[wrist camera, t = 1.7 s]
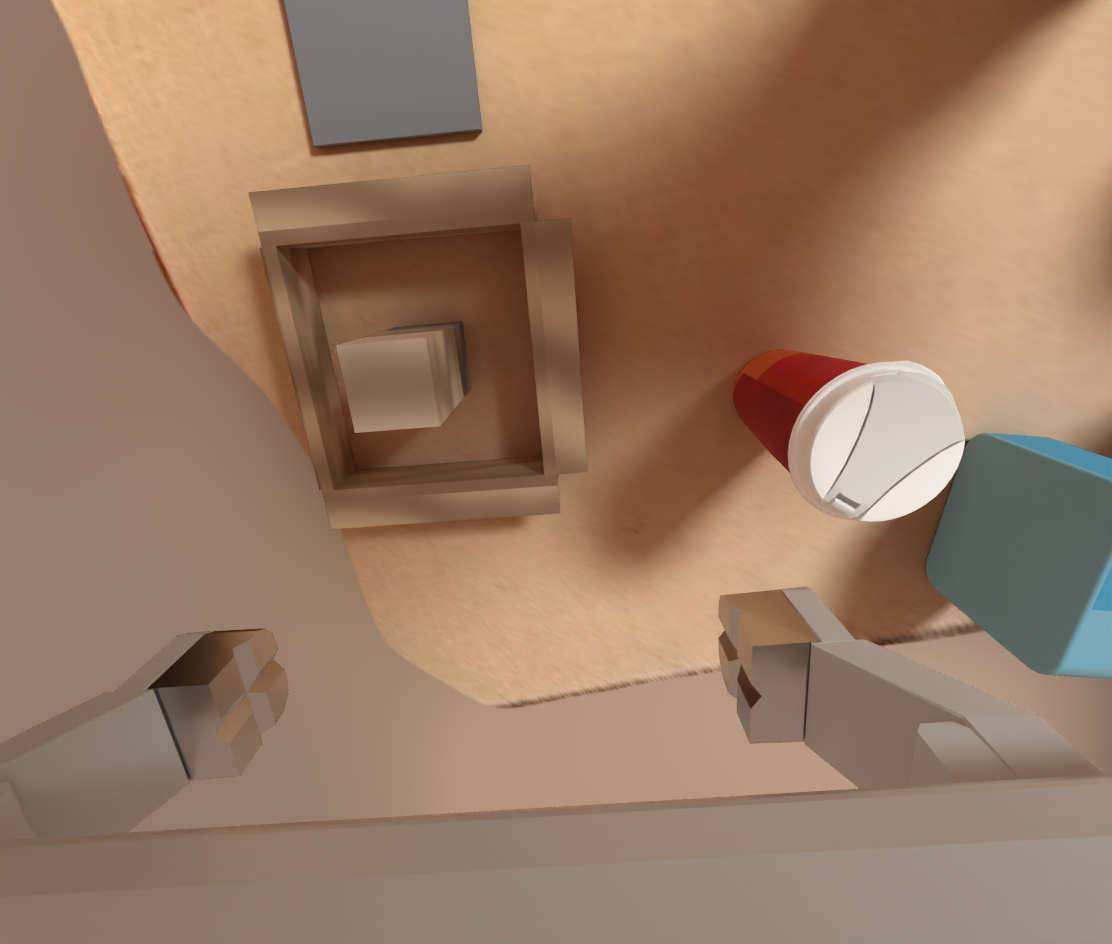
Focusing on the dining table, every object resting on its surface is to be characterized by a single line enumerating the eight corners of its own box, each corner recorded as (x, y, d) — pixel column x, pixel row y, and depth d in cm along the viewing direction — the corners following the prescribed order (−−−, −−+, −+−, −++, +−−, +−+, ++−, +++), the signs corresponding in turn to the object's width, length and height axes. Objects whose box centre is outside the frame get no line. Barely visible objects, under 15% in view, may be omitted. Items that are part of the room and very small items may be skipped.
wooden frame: (279, 202, 34) (243, 193, 30) (566, 174, 33) (566, 161, 29) (349, 506, 41) (327, 529, 37) (587, 489, 40) (590, 511, 36)
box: (395, 327, 36) (335, 345, 27) (462, 321, 36) (425, 337, 27) (407, 393, 38) (354, 432, 28) (471, 388, 38) (439, 426, 28)
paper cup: (784, 463, 39) (896, 558, 26) (695, 412, 38) (764, 484, 25) (855, 367, 37) (1018, 418, 23) (762, 309, 35) (879, 329, 22)
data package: (976, 580, 42) (1128, 692, 31) (919, 577, 42) (1049, 687, 31) (1033, 431, 38) (1231, 497, 27) (969, 427, 38) (1140, 491, 27)
